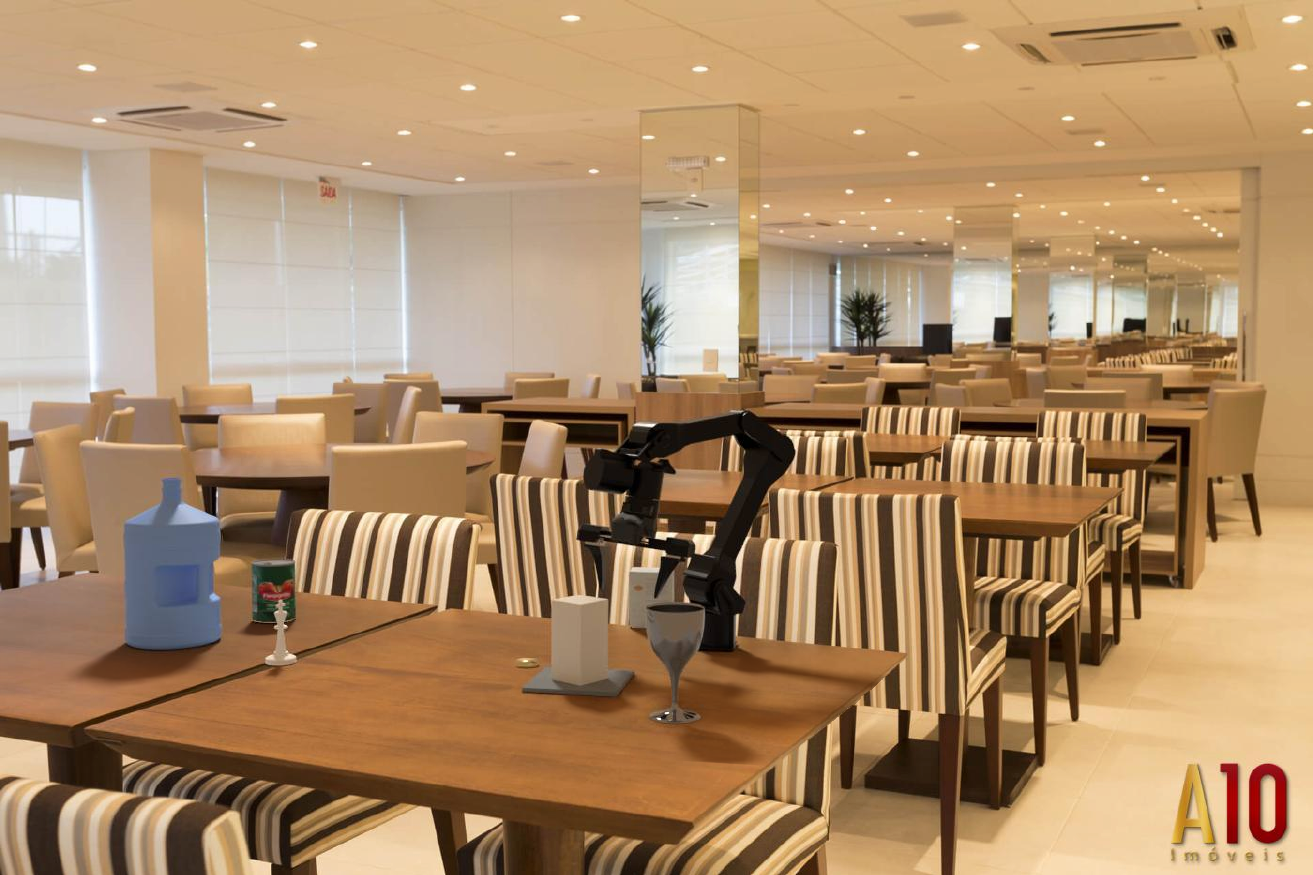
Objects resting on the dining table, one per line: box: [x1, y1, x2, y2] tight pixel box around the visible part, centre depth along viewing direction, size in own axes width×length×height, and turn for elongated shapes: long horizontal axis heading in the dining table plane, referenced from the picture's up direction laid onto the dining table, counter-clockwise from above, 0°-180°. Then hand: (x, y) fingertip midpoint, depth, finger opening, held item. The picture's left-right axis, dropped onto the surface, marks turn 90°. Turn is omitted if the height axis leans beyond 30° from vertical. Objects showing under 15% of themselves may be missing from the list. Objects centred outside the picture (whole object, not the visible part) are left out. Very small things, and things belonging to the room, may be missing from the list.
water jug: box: [122, 477, 223, 651], centre depth 222 cm, size 16×16×28 cm
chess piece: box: [264, 600, 298, 666], centre depth 208 cm, size 5×5×10 cm
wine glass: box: [646, 601, 705, 725], centre depth 176 cm, size 8×8×15 cm
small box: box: [628, 566, 675, 629], centre depth 239 cm, size 8×6×10 cm
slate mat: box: [521, 665, 635, 698], centre depth 195 cm, size 14×14×1 cm
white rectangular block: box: [550, 594, 609, 686], centre depth 195 cm, size 6×6×12 cm
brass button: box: [515, 657, 539, 668], centre depth 207 cm, size 4×4×1 cm
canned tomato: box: [250, 558, 297, 622], centre depth 242 cm, size 8×8×11 cm
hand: (628, 593), depth 210 cm, fingers open, 9 cm apart
